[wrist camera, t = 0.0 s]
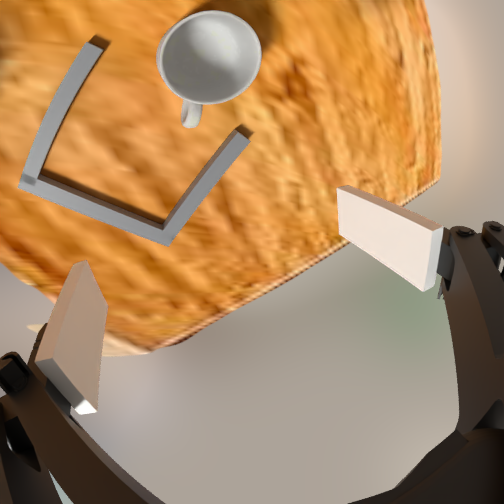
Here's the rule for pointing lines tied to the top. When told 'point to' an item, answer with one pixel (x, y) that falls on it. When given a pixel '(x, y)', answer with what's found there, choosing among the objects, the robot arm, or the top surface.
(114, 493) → the robot arm
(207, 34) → the teacup
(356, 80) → the top surface
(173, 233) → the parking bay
